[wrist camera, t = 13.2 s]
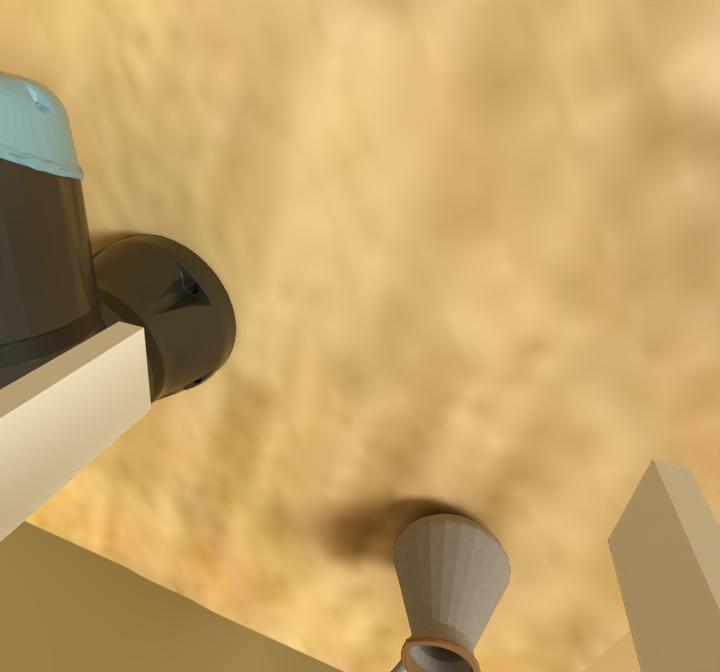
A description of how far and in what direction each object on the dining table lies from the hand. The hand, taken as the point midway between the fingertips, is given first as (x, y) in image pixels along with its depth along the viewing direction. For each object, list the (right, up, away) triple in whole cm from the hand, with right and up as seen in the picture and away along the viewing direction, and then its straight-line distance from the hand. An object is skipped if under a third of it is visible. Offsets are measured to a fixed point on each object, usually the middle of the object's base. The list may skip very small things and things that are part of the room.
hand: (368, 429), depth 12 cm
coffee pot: (+7, -22, +40) cm, 46 cm away
